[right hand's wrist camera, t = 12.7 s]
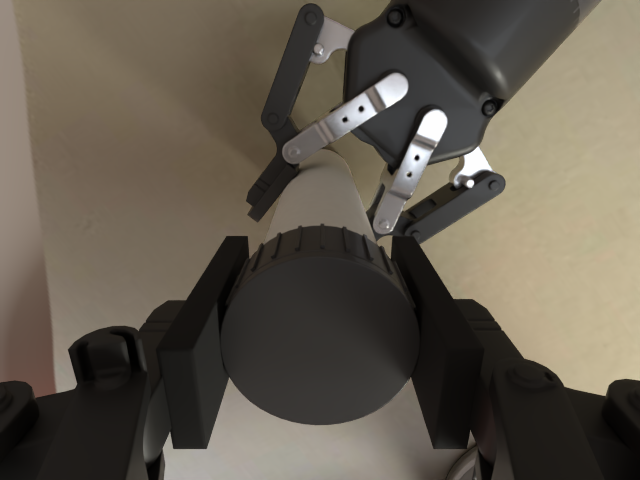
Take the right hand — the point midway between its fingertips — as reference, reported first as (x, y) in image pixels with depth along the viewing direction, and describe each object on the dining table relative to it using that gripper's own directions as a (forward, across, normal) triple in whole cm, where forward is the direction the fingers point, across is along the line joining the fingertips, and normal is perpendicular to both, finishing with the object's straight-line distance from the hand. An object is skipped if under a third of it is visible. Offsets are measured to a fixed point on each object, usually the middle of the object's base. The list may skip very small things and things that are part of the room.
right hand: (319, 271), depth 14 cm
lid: (-4, 0, 0) cm, 4 cm away
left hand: (+8, -2, -2) cm, 9 cm away
